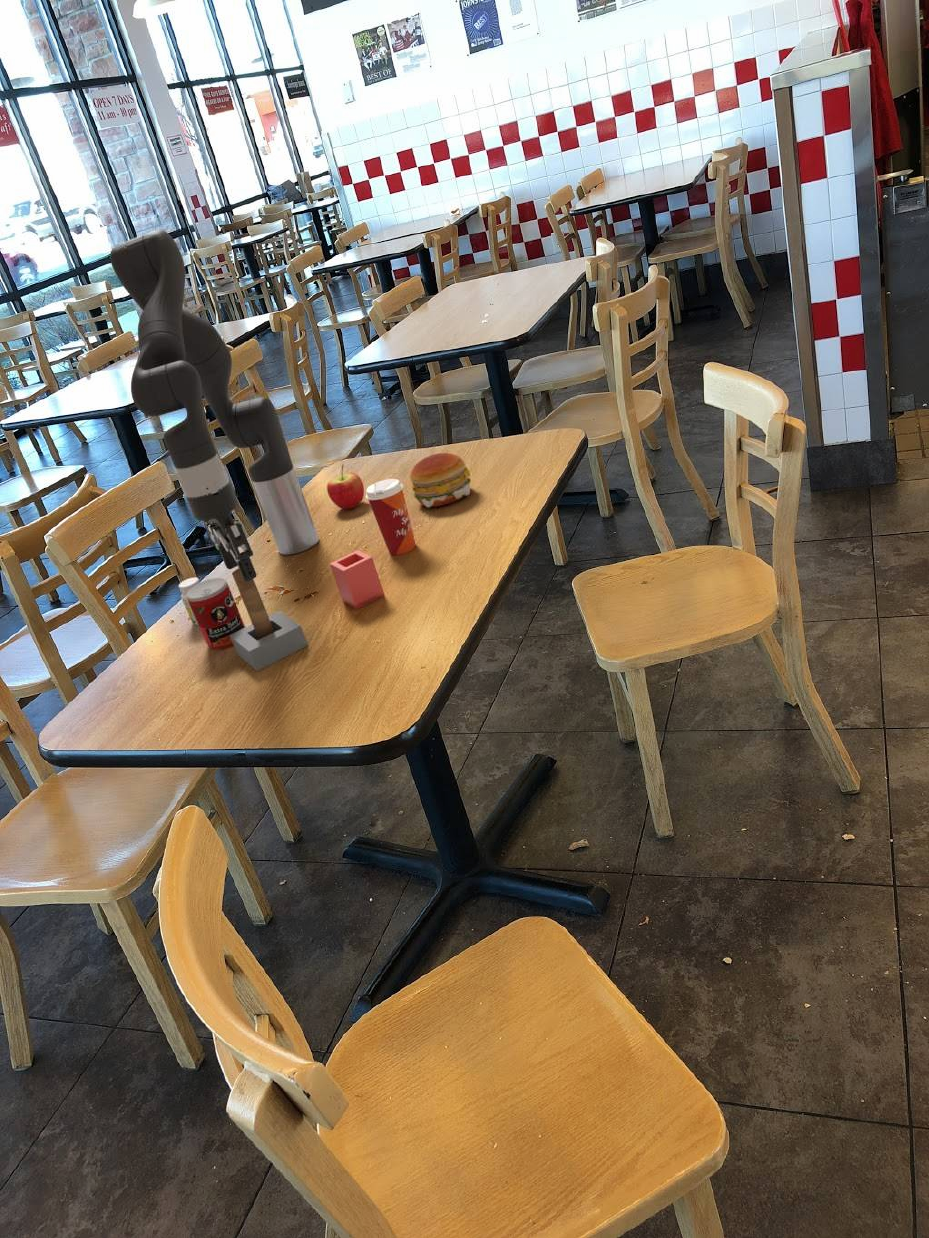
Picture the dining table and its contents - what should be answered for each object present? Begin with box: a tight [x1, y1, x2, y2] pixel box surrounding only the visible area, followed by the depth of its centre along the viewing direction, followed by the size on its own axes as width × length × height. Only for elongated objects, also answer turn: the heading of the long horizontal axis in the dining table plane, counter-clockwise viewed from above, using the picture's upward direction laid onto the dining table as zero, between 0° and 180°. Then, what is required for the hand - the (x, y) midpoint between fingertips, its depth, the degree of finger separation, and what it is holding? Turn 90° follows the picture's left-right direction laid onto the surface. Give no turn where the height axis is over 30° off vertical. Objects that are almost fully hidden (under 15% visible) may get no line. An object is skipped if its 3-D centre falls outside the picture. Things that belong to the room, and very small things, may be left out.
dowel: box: [231, 568, 274, 640], centre depth 172 cm, size 3×3×15 cm
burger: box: [409, 452, 471, 508], centre depth 219 cm, size 14×14×10 cm
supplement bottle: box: [178, 577, 201, 626], centre depth 194 cm, size 5×5×8 cm
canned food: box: [186, 577, 246, 650], centre depth 182 cm, size 8×8×11 cm
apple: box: [326, 463, 365, 510], centre depth 231 cm, size 8×8×10 cm
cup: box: [329, 549, 386, 610], centre depth 183 cm, size 6×6×8 cm
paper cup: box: [365, 478, 416, 556], centre depth 199 cm, size 8×8×14 cm
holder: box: [230, 610, 309, 672], centre depth 175 cm, size 10×10×4 cm
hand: (242, 572), depth 169 cm, fingers open, 8 cm apart
